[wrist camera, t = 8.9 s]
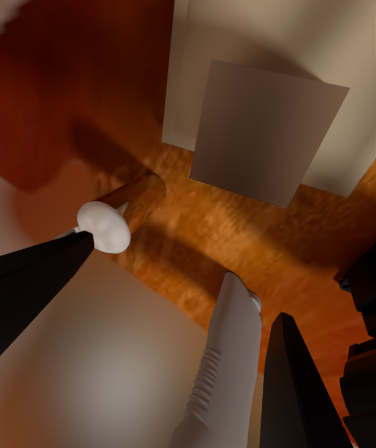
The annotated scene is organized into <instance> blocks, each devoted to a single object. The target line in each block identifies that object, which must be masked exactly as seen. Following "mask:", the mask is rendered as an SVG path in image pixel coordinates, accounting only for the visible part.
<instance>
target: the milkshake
mask: <svg viewBox="0 0 376 448" xmlns="http://www.w3.org/2000/svg"><path fill="white" fill-rule="evenodd" d="M165 197H166V186H165V184H164V183H163V181H162V179H161V178H159V177H158V176H156V175H154V174H144V175H142V176H140V177H138V178H136V179H134V180H132V181H130V182H128V183H126V184H125V185H123V186H121V187H119V188H117V189H115V190H113V191H111V192H109V193H107V194H105V195H103V196H101V197H99V198H96V199H94V200H92V201H90V202H88V203H86V204H84V205H83V206H82V207H81V208H80V210H79V212H78V215H77V220H78V224H79V226H78V227H76V228H74V229H72V230H70V231H67V232H65V233H63V234H61V235H59V236H57V237H55V239H58V238H61V237H64V236H68V235H71V234H74V233H77V232H80V231H88V232H91V233H92V234H93V236H94V244H95V246H94V248H96V249H98V250H100V251H103V252H108V253H120V252H123V251H124V250H125V249H126V248H127V247H128V245H129V244H130V243H131V241H132V240H133V239H134V237H135V236H136V234H137V233H138V232H139V230H140V229H141V228H142V226H143V225H144V224H145V222H146V221H147V220H148V218H149V217H150V216H151V215H152V213H153V212H154V211H155V210H156V208H157V207H158V206H159V205H160V203H161V202H162V201H163V200H164V198H165Z"/></svg>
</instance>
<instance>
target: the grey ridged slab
mask: <svg viewBox="0 0 376 448" xmlns="http://www.w3.org/2000/svg"><path fill="white" fill-rule="evenodd" d="M260 309H261V301H260V299H259V298H258V296H256V295H255V294H254V293H252V292H250V291H249V290H248V288H247V287H246V286H245V284H244V283H243V281H242V280H241V279H240V277H239V276H238V275H236V274H235V273H233V272H230V271H228V272H226V273H225V276H224V279H223V283H222V286H221V289H220V292H219V295H218V298H217V302H216V305H215V308H214V311H213V315H212V318H211V321H210V324H209V330H208V337H207V344H206V348H205V350H204V354H203V356H202V359H201V365H200V367H199V370H198V374H197V375H196V380H195V381H194V387H193V388H192V394H191V395H190V396H189V402H188V403H187V404H186V408H185V411H184V412H185V418H184V419H183V420H182V421H181V422H180V424H179V425H178V426H177V427H176V428H175V429H174V432H173V434H172V437H171V439H170V442H169V445H168V447H167V448H247V438H248V427H249V418H250V411H251V403H252V396H253V391H254V387H255V382H256V375H257V367H258V358H259V348H260V339H261V330H262V319H261V316H260Z"/></svg>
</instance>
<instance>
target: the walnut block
mask: <svg viewBox="0 0 376 448" xmlns="http://www.w3.org/2000/svg"><path fill="white" fill-rule="evenodd" d="M349 90H350V88H349V87H344V86H339V85H335V84H330V83H325V82H320V81H315V80H311V79H306V78H301V77H296V76H291V75H287V74H282V73H277V72H272V71H267V70H263V69H258V68H253V67H248V66H243V65H239V64H234V63H229V62H224V61H219V60H215V59H211V64H210V69H209V74H208V80H207V85H206V91H205V96H204V101H203V107H202V112H201V118H200V123H199V128H198V134H197V139H196V145H195V150H194V155H193V161H192V166H191V172H190V177H189V178H191V179H194V180H197V181H200V182H203V183H206V184H209V185H213V186H216V187H219V188H222V189H225V190H228V191H231V192H234V193H237V194H240V195H243V196H247V197H250V198H253V199H256V200H259V201H262V202H265V203H268V204H271V205H274V206H277V207H281V208H284V209H287V208H288V206H289V204H290V202H291V200H292V198H293V196H294V194H295V193H296V191H297V189H298V187H299V185H300V183H301V181H302V179H303V177H304V175H305V174H306V172H307V170H308V168H309V166H310V164H311V162H312V160H313V158H314V156H315V155H316V153H317V151H318V149H319V147H320V145H321V143H322V141H323V139H324V137H325V136H326V134H327V132H328V130H329V128H330V126H331V124H332V122H333V120H334V118H335V117H336V115H337V113H338V111H339V109H340V107H341V105H342V103H343V101H344V99H345V98H346V96H347V94H348V92H349Z"/></svg>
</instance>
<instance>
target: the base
mask: <svg viewBox="0 0 376 448" xmlns="http://www.w3.org/2000/svg"><path fill="white" fill-rule="evenodd" d="M211 59H215V60H219V61H224V62H229V63H234V64H239V65H243V66H248V67H253V68H258V69H263V70H267V71H272V72H277V73H282V74H287V75H291V76H296V77H301V78H306V79H311V80H315V81H320V82H325V83H330V84H335V85H339V86H344V87H349V88H350V90H349V92H348V94H347V96H346V98H345V99H344V101H343V103H342V105H341V107H340V109H339V111H338V113H337V115H336V117H335V118H334V120H333V122H332V124H331V126H330V128H329V130H328V132H327V134H326V136H325V137H324V139H323V141H322V143H321V145H320V147H319V149H318V151H317V153H316V155H315V156H314V158H313V160H312V162H311V164H310V166H309V168H308V170H307V172H306V174H305V175H304V177H303V179H302V181H301V183H300V184H303V185H306V186H310V187H313V188H316V189H319V190H323V191H326V192H329V193H333V194H336V195H339V196H343V197H346V198H348V197H349V195H350V194H351V192H352V191H353V190H354V188H355V187H356V185H357V184H358V183H359V181H360V180H361V178H362V177H363V175H364V174H365V173H366V171H367V170H368V168H369V167H370V166H371V164H372V163H373V161H374V160H375V159H376V0H175V5H174V15H173V26H172V36H171V47H170V57H169V68H168V78H167V89H166V99H165V110H164V121H163V131H162V142H164V143H167V144H170V145H174V146H177V147H180V148H184V149H187V150H190V151H194V150H195V145H196V139H197V134H198V128H199V123H200V118H201V112H202V107H203V101H204V96H205V91H206V85H207V80H208V74H209V69H210V64H211Z"/></svg>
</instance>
